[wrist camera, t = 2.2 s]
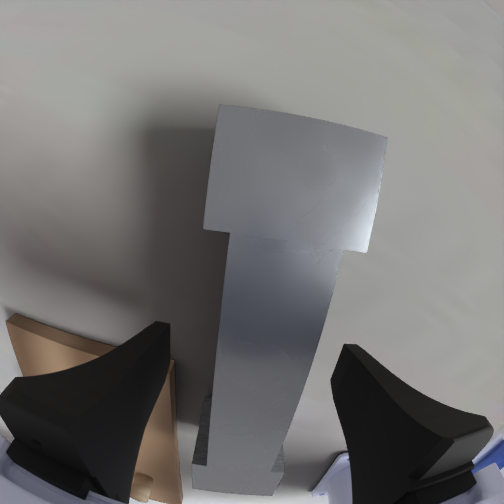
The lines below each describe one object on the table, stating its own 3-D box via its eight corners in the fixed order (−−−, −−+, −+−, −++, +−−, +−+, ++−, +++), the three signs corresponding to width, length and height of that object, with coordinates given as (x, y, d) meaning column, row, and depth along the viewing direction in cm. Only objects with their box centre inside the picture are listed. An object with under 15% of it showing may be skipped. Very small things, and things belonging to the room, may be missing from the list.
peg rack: (174, 360, 14) (157, 406, 11) (182, 497, 20) (177, 524, 17) (15, 313, 14) (-16, 338, 11) (78, 465, 20) (67, 487, 16)
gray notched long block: (234, 130, 11) (219, 104, 6) (337, 147, 11) (387, 137, 6) (203, 427, 16) (192, 488, 11) (269, 434, 16) (272, 495, 11)
